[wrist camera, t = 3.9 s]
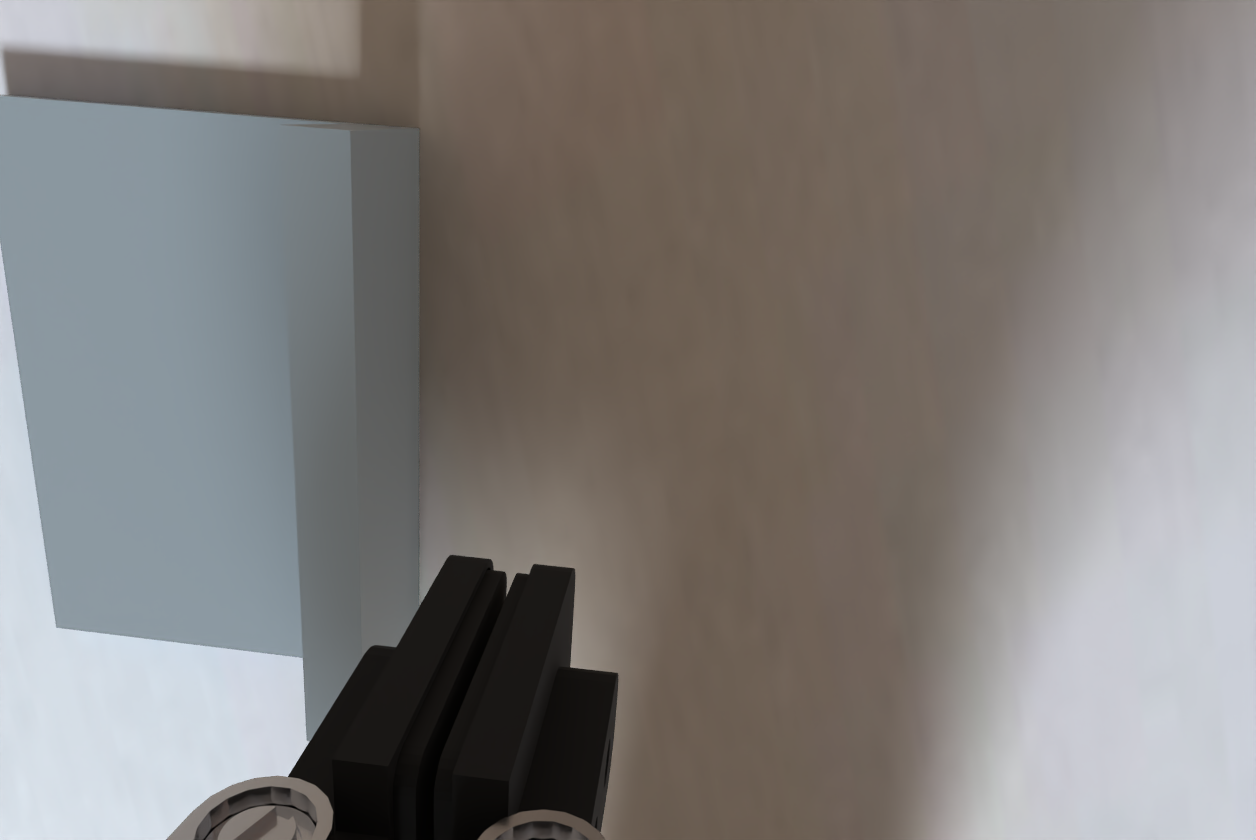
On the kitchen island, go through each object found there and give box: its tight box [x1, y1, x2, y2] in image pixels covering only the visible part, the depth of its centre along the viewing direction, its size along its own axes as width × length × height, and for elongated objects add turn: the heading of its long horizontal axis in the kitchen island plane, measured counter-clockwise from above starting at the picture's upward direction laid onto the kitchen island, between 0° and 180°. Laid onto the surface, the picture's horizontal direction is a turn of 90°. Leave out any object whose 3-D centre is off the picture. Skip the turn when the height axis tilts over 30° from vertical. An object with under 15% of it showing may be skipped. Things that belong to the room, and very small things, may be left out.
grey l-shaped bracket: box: [0, 95, 419, 741], centre depth 22 cm, size 10×14×4 cm
